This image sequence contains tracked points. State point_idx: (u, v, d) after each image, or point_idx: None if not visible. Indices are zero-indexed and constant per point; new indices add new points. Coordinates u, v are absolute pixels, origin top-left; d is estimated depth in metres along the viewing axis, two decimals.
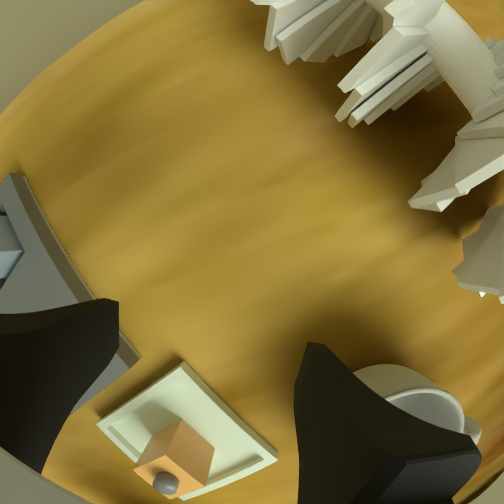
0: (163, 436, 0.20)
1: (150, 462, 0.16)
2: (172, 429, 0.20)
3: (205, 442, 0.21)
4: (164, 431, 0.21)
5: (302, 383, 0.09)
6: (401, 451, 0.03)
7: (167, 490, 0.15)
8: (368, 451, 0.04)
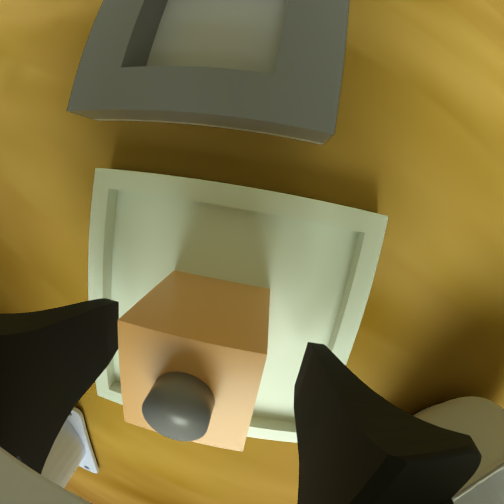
0: (222, 294, 0.11)
1: (196, 341, 0.07)
2: (248, 293, 0.11)
3: None
4: (218, 284, 0.11)
5: (302, 383, 0.09)
6: (401, 451, 0.03)
7: (172, 427, 0.07)
8: (368, 451, 0.04)
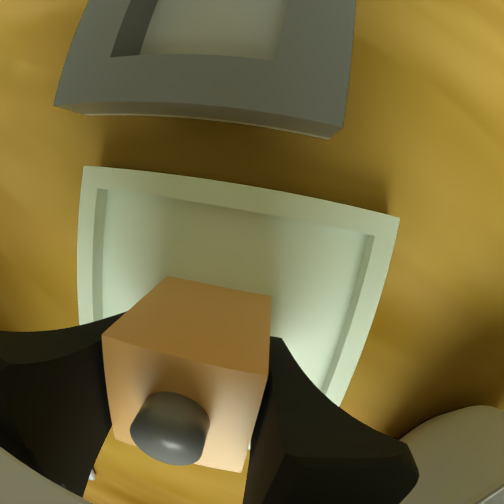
0: (219, 303, 0.10)
1: (188, 361, 0.06)
2: (247, 302, 0.10)
3: None
4: (214, 291, 0.11)
5: None
6: (306, 452, 0.03)
7: (163, 451, 0.06)
8: (277, 447, 0.04)
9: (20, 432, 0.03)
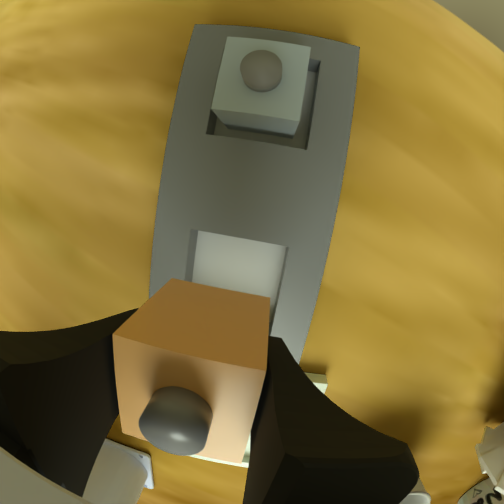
0: (220, 304, 0.10)
1: (193, 357, 0.07)
2: (247, 303, 0.11)
3: None
4: (216, 292, 0.11)
5: None
6: (305, 451, 0.03)
7: (169, 441, 0.06)
8: (277, 447, 0.04)
9: (20, 432, 0.03)
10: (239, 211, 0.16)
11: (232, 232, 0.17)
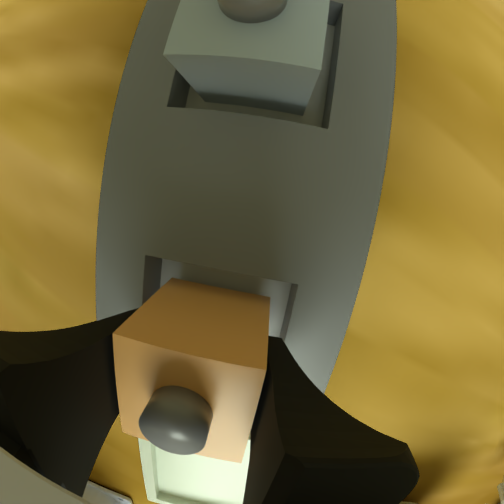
0: (221, 303, 0.10)
1: (193, 356, 0.07)
2: (247, 302, 0.11)
3: None
4: (216, 292, 0.11)
5: None
6: (305, 452, 0.03)
7: (169, 441, 0.06)
8: (277, 447, 0.04)
9: (20, 432, 0.03)
10: (218, 228, 0.10)
11: (208, 261, 0.10)
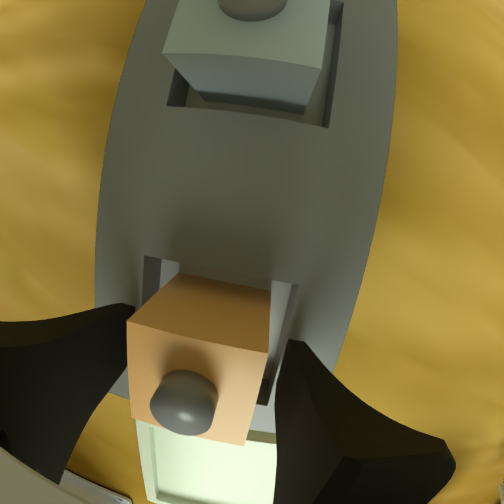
0: (225, 296, 0.11)
1: (201, 341, 0.08)
2: (250, 295, 0.11)
3: None
4: (221, 285, 0.12)
5: (281, 380, 0.09)
6: (360, 453, 0.03)
7: (178, 422, 0.07)
8: (328, 451, 0.04)
9: None
10: (218, 228, 0.10)
11: (207, 261, 0.10)
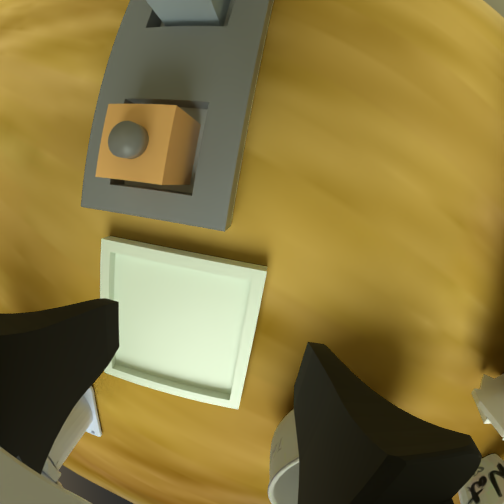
0: None
1: (144, 104, 0.13)
2: None
3: (191, 167, 0.18)
4: None
5: (302, 383, 0.09)
6: (401, 451, 0.03)
7: (121, 146, 0.12)
8: (368, 451, 0.04)
9: None
10: (166, 77, 0.15)
11: (159, 95, 0.16)
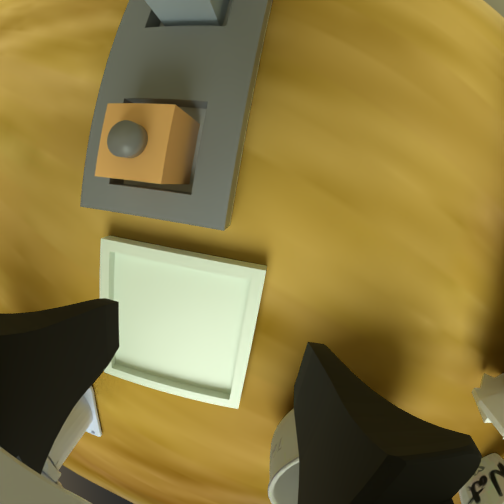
0: None
1: (143, 104, 0.13)
2: None
3: (191, 166, 0.18)
4: None
5: (302, 383, 0.09)
6: (401, 451, 0.03)
7: (120, 145, 0.12)
8: (368, 451, 0.04)
9: None
10: (165, 77, 0.15)
11: (158, 95, 0.16)
